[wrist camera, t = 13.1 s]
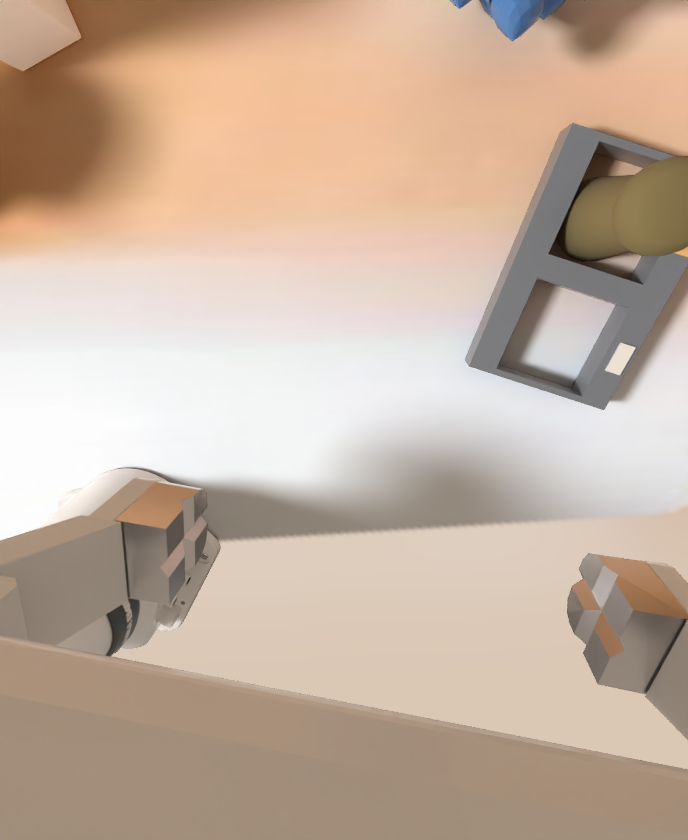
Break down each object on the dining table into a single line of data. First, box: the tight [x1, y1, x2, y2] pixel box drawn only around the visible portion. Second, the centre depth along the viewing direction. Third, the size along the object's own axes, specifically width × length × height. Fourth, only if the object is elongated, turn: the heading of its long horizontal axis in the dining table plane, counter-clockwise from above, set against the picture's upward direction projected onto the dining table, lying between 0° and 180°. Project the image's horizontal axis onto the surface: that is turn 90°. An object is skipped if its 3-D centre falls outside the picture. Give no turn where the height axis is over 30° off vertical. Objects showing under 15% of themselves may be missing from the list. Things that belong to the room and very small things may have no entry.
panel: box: [465, 123, 688, 410], centre depth 34 cm, size 18×12×3 cm, turn 163°
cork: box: [556, 156, 688, 261], centre depth 28 cm, size 6×6×11 cm
